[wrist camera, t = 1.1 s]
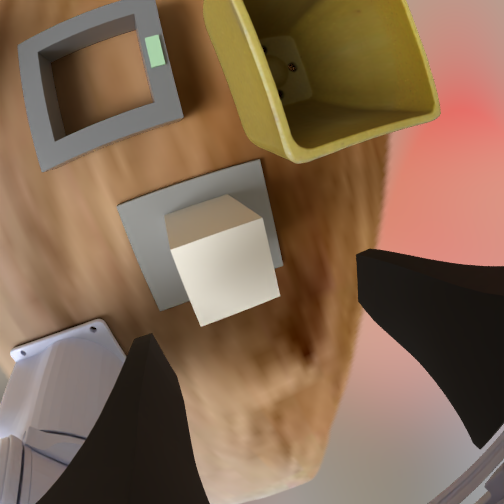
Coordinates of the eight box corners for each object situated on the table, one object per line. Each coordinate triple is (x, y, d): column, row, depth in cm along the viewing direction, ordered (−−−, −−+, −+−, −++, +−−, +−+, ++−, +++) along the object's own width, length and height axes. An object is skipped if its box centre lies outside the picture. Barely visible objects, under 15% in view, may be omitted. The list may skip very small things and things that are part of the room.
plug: (184, 273, 18) (200, 326, 13) (163, 215, 17) (170, 249, 11) (243, 252, 19) (280, 296, 14) (227, 194, 18) (262, 217, 12)
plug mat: (159, 308, 19) (160, 311, 19) (117, 205, 16) (116, 206, 16) (280, 263, 21) (283, 265, 21) (257, 159, 18) (259, 159, 17)
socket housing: (56, 168, 14) (40, 172, 11) (32, 55, 11) (16, 44, 8) (179, 121, 15) (184, 116, 13) (152, 9, 12) (153, -10, 10)
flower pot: (178, 29, 13) (207, -53, 5) (302, 7, 15) (388, -43, 7) (225, 156, 17) (292, 169, 9) (340, 117, 19) (443, 118, 11)
